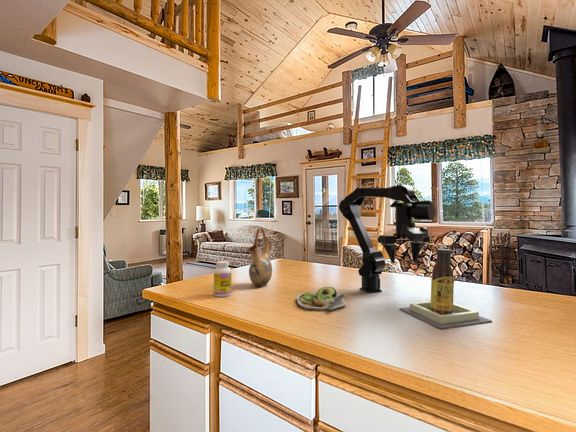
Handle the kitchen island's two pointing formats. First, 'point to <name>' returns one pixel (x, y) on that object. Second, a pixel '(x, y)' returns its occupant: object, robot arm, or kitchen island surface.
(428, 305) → the bottle collar
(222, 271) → the supplement bottle
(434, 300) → the sauce bottle
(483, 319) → the rubber mat
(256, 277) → the ceramic vessel
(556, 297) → the kitchen island surface
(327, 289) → the salad plate
